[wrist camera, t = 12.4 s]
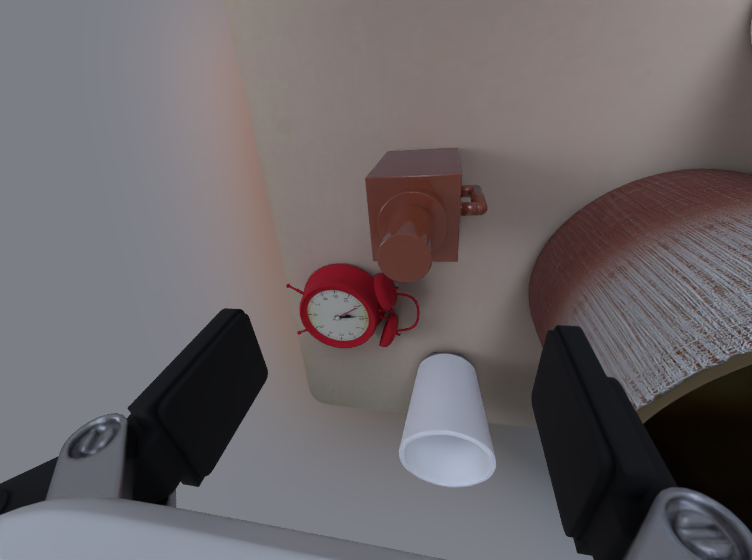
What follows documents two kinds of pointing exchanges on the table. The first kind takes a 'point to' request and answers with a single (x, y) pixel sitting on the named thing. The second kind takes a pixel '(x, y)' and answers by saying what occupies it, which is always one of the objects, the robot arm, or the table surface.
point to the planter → (667, 316)
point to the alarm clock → (349, 306)
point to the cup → (447, 425)
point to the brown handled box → (418, 210)
